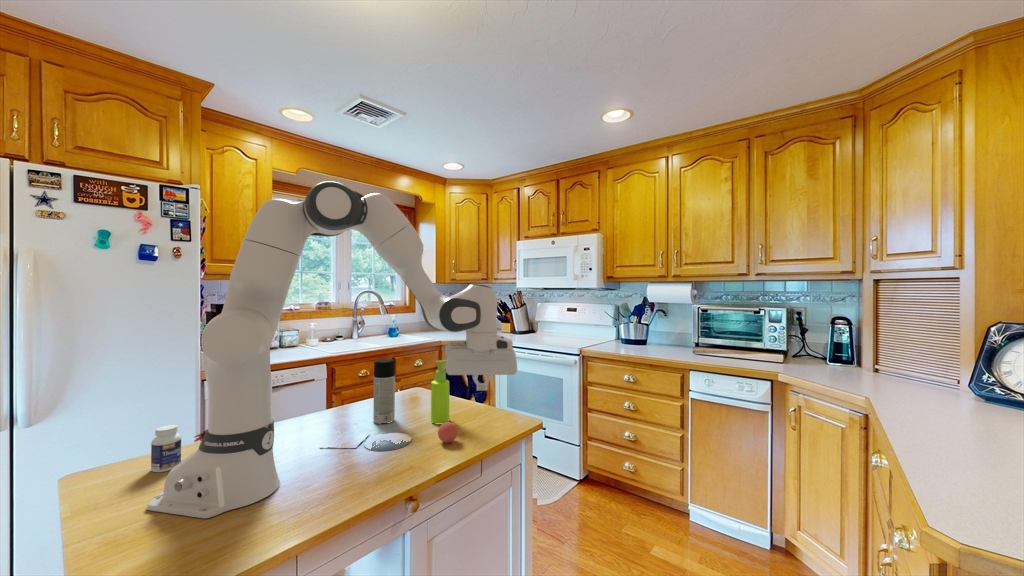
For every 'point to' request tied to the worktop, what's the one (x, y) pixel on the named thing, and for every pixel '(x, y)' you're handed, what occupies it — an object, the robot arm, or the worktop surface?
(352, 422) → the worktop surface
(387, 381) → the spray can
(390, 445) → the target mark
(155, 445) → the pill bottle
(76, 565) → the worktop surface
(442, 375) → the soap dispenser
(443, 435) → the ball
